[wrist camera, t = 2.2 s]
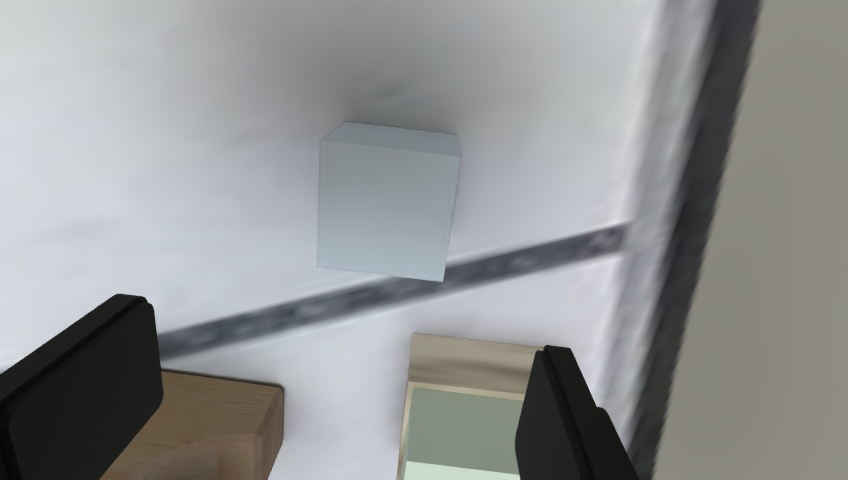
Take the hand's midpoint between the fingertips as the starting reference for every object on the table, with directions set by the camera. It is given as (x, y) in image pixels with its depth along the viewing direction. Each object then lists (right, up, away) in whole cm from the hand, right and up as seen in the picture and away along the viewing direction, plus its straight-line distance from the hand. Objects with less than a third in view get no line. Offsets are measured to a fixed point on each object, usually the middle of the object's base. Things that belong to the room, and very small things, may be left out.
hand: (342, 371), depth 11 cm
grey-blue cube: (0, +7, +15) cm, 16 cm away
